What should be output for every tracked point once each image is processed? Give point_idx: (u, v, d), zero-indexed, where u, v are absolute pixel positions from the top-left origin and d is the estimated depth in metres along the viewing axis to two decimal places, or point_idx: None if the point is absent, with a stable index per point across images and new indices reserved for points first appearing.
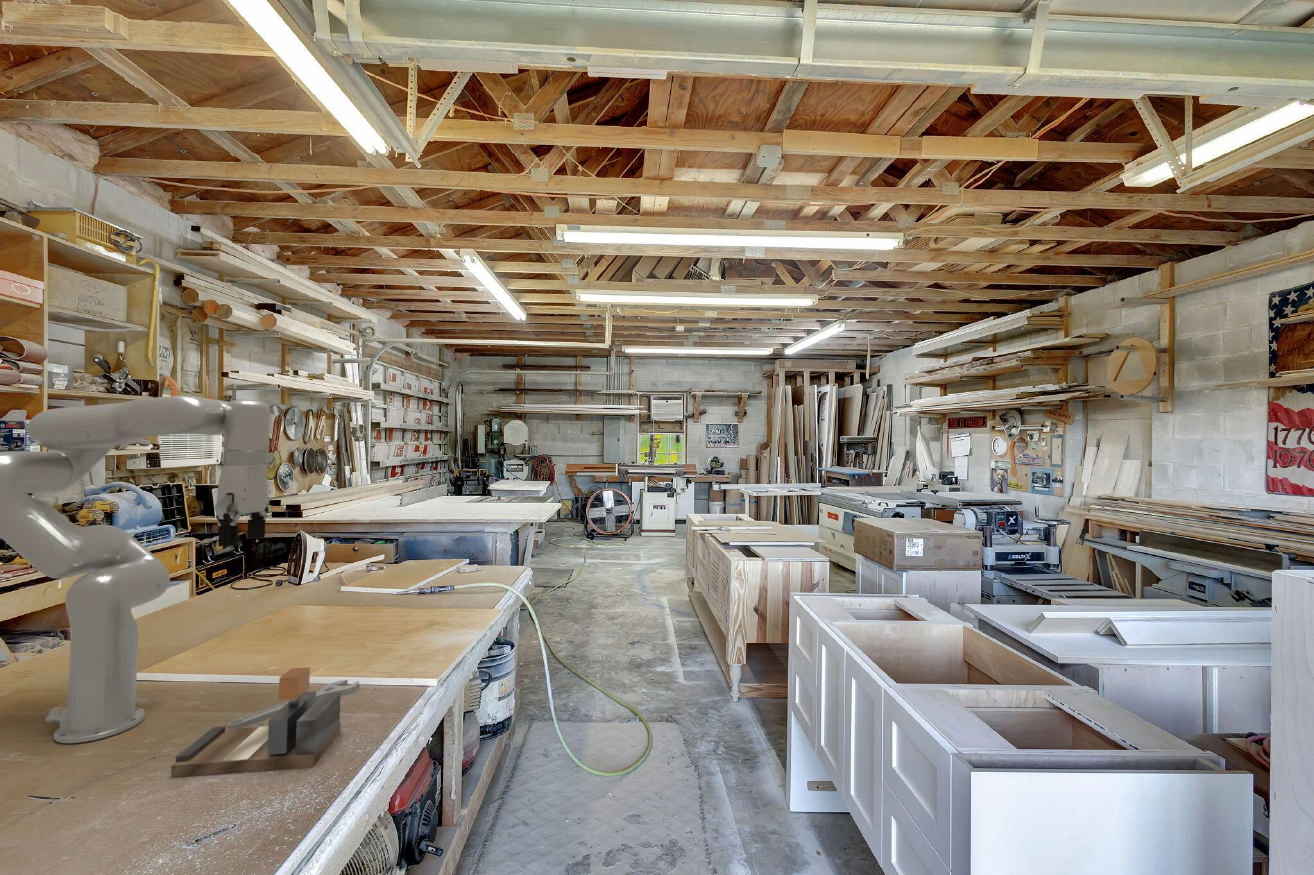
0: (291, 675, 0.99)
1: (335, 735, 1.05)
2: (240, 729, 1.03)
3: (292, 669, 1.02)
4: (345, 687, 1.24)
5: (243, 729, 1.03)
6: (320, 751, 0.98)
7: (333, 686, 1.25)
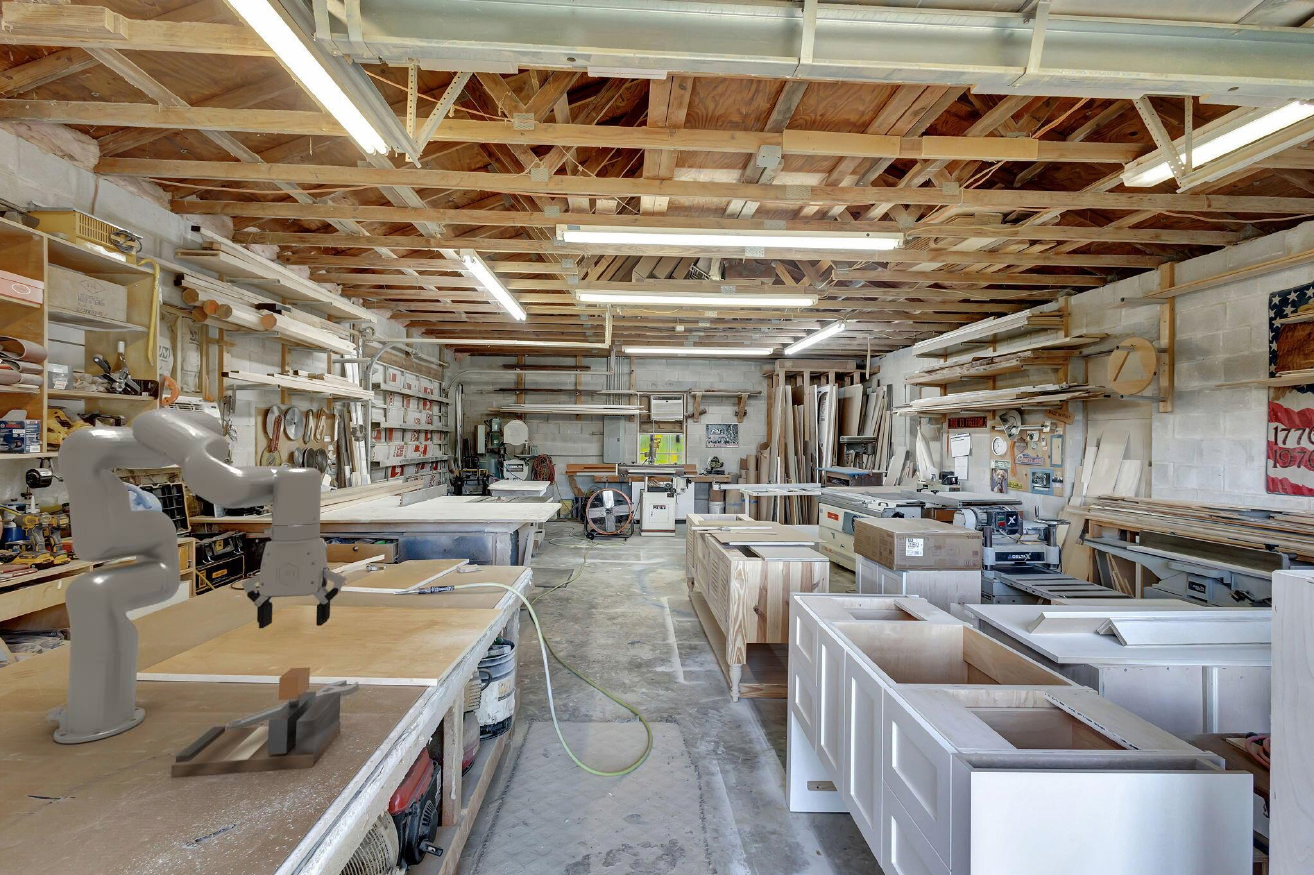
0: (291, 675, 0.99)
1: (335, 735, 1.05)
2: (240, 729, 1.03)
3: (292, 669, 1.02)
4: (344, 688, 1.24)
5: (243, 729, 1.03)
6: (320, 751, 0.98)
7: (332, 687, 1.24)
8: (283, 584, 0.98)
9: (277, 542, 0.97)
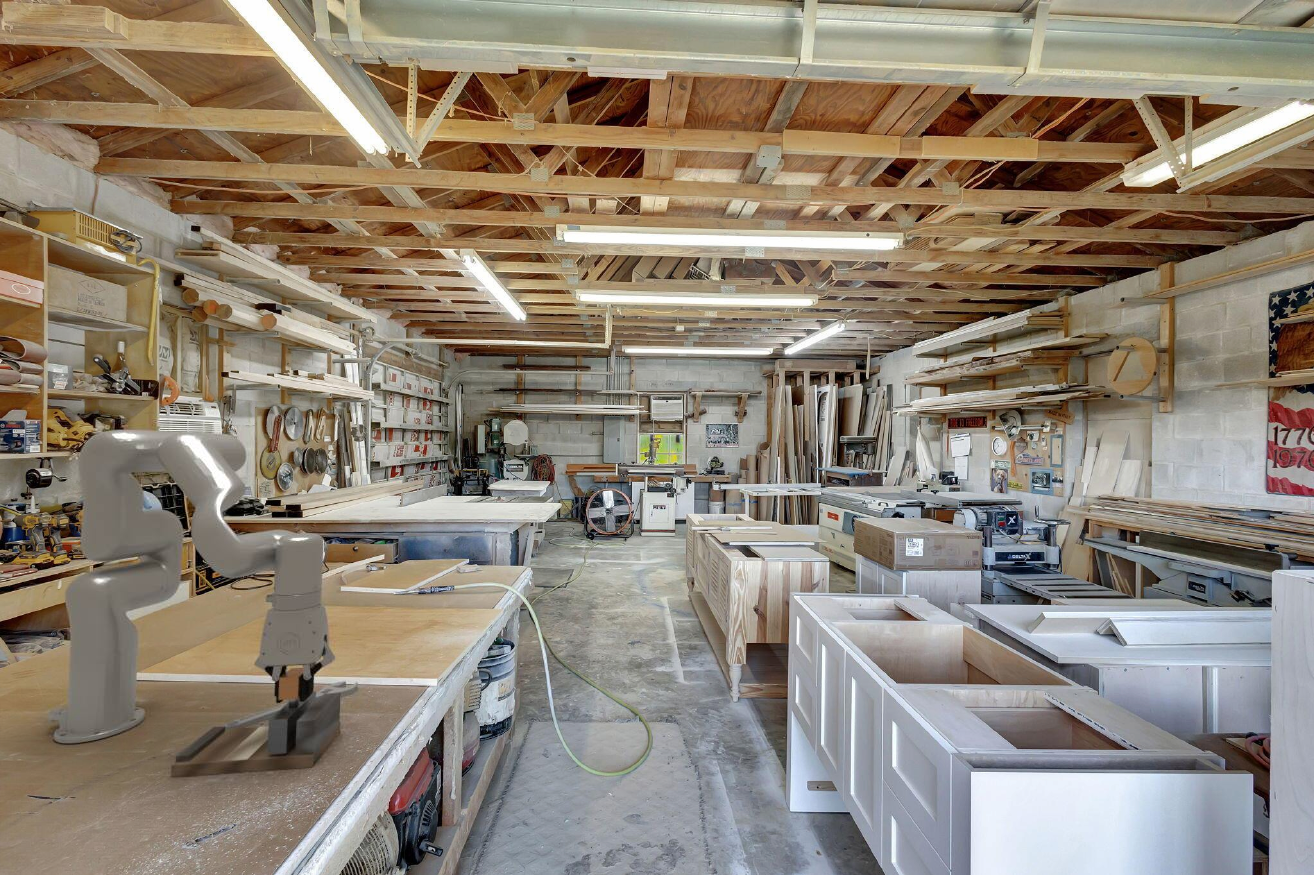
0: (291, 675, 0.99)
1: (335, 735, 1.05)
2: (240, 729, 1.03)
3: (292, 669, 1.02)
4: (343, 689, 1.23)
5: (243, 729, 1.03)
6: (320, 751, 0.98)
7: (331, 688, 1.24)
8: (284, 654, 0.97)
9: (278, 612, 0.97)
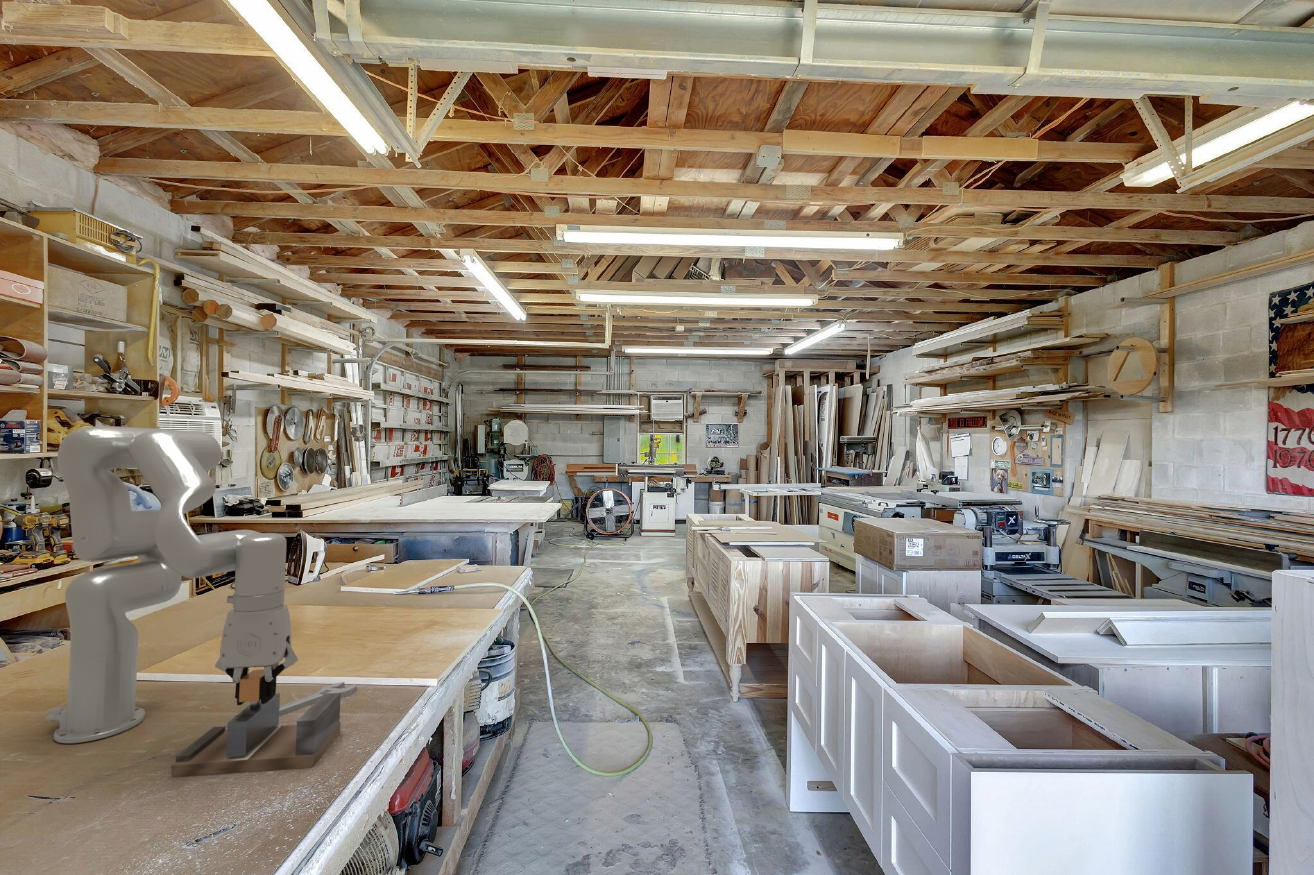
0: (252, 677, 0.98)
1: (335, 735, 1.05)
2: None
3: (254, 670, 1.01)
4: (342, 690, 1.23)
5: None
6: (320, 751, 0.98)
7: (330, 689, 1.23)
8: (245, 655, 0.96)
9: (239, 613, 0.96)
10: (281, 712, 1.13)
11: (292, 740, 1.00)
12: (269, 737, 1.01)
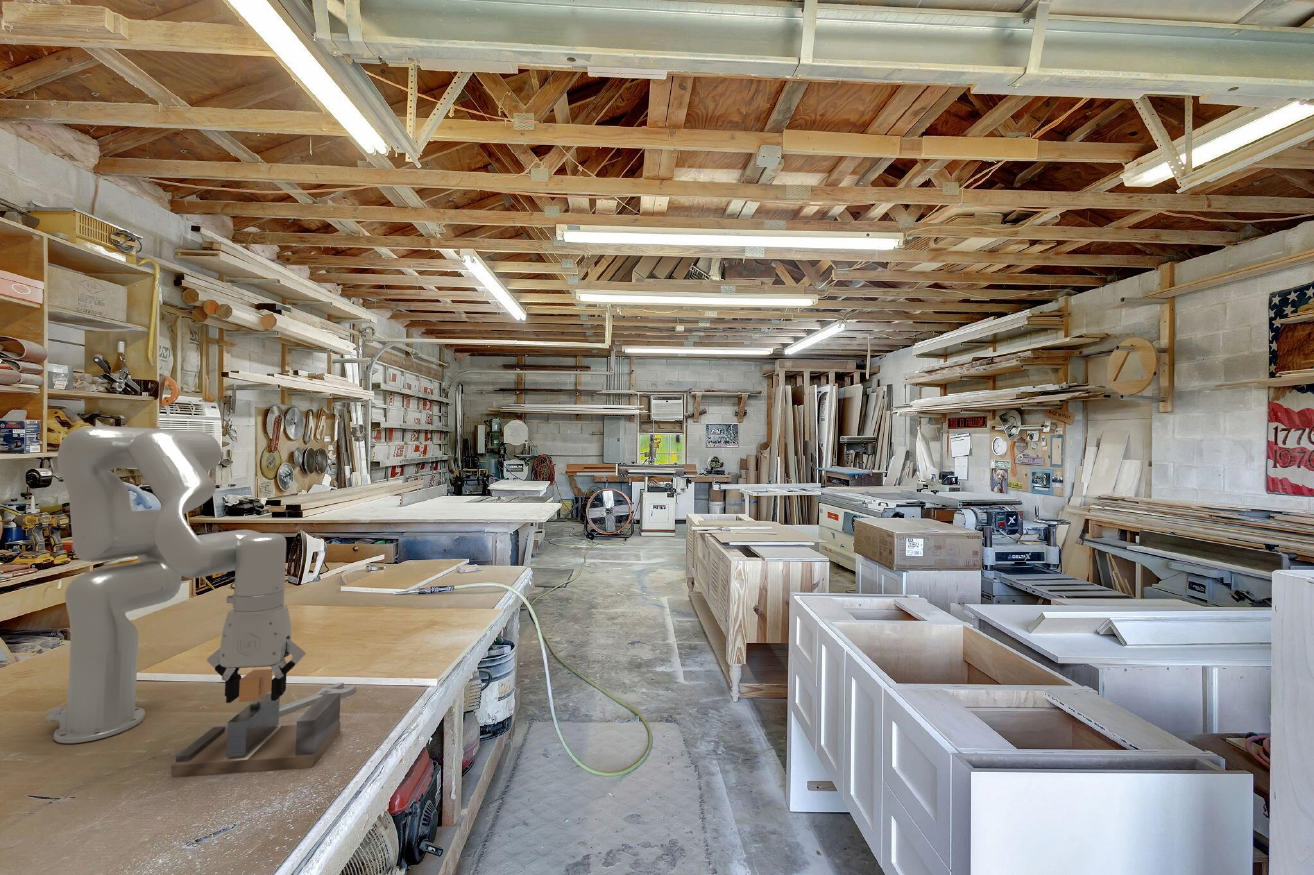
0: (252, 677, 0.98)
1: (335, 735, 1.05)
2: None
3: (254, 670, 1.01)
4: (341, 690, 1.22)
5: None
6: (320, 751, 0.98)
7: (329, 689, 1.23)
8: (245, 655, 0.96)
9: (238, 613, 0.96)
10: (280, 713, 1.13)
11: (292, 740, 1.00)
12: (269, 737, 1.01)
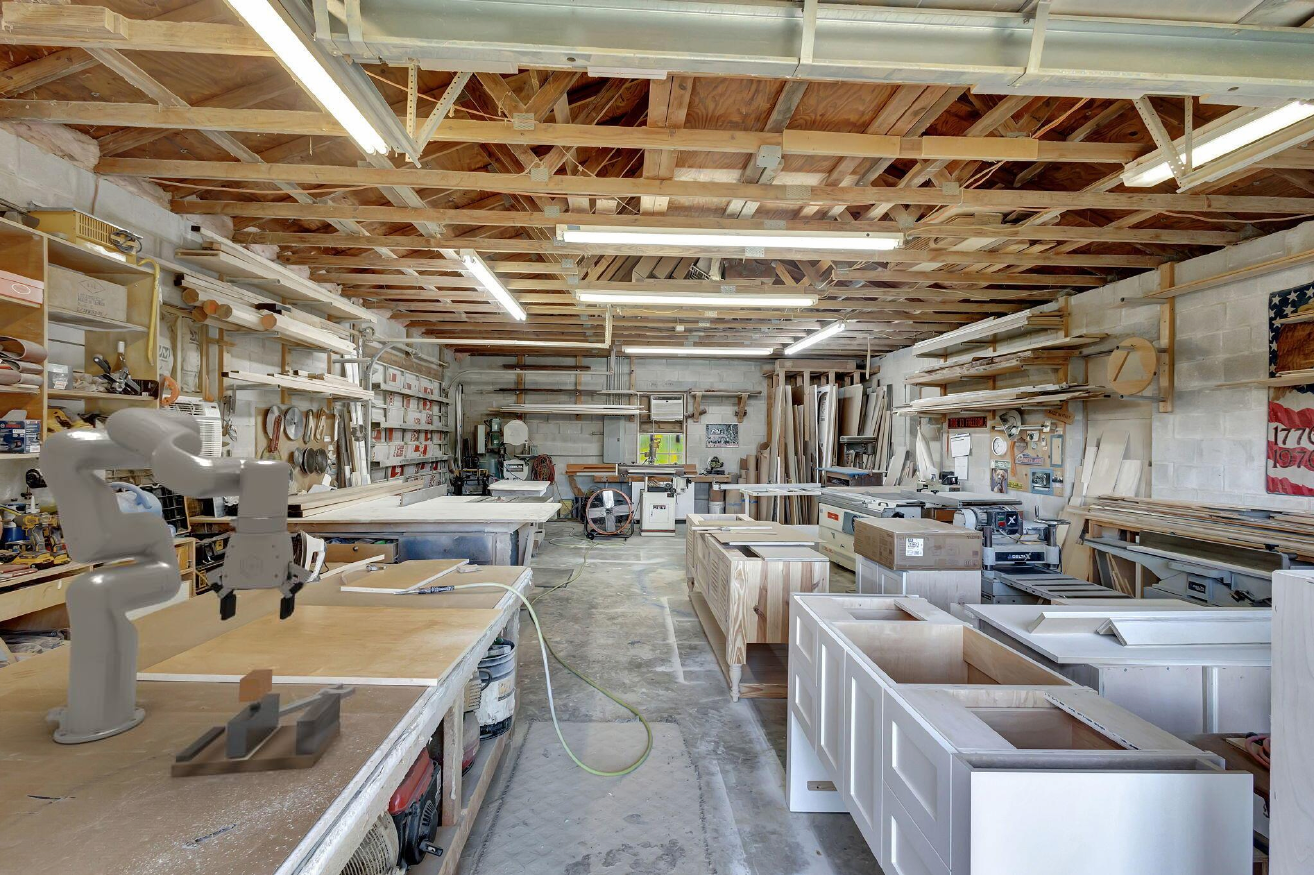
0: (252, 677, 0.98)
1: (335, 735, 1.05)
2: None
3: (254, 670, 1.01)
4: (340, 691, 1.22)
5: None
6: (320, 751, 0.98)
7: (328, 690, 1.23)
8: (247, 577, 0.97)
9: (241, 534, 0.96)
10: (279, 714, 1.12)
11: (292, 740, 1.00)
12: (269, 737, 1.01)
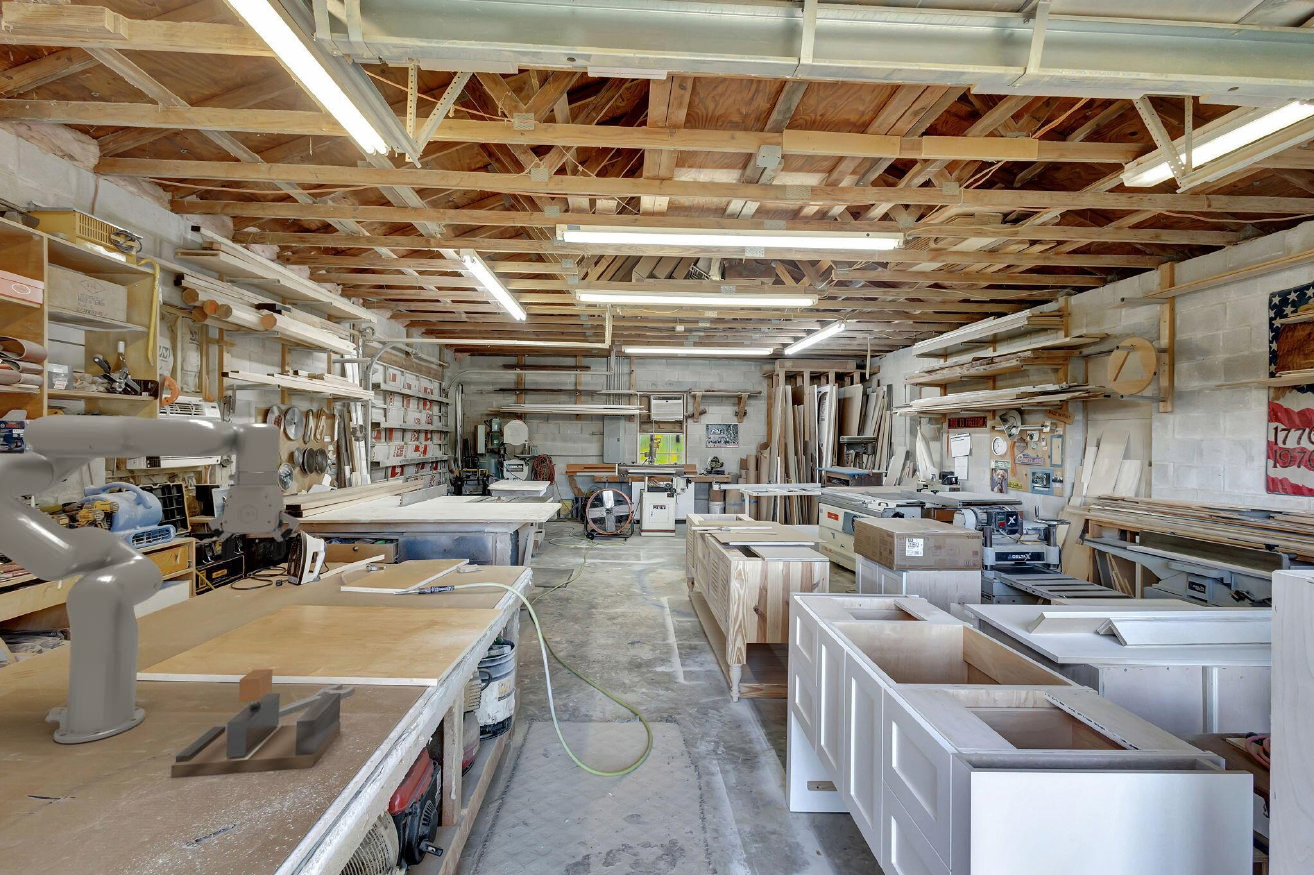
0: (252, 677, 0.98)
1: (335, 735, 1.05)
2: None
3: (254, 670, 1.01)
4: (340, 691, 1.22)
5: None
6: (320, 751, 0.98)
7: (327, 690, 1.22)
8: (244, 523, 1.13)
9: (239, 486, 1.12)
10: None
11: (292, 740, 1.00)
12: (269, 737, 1.01)
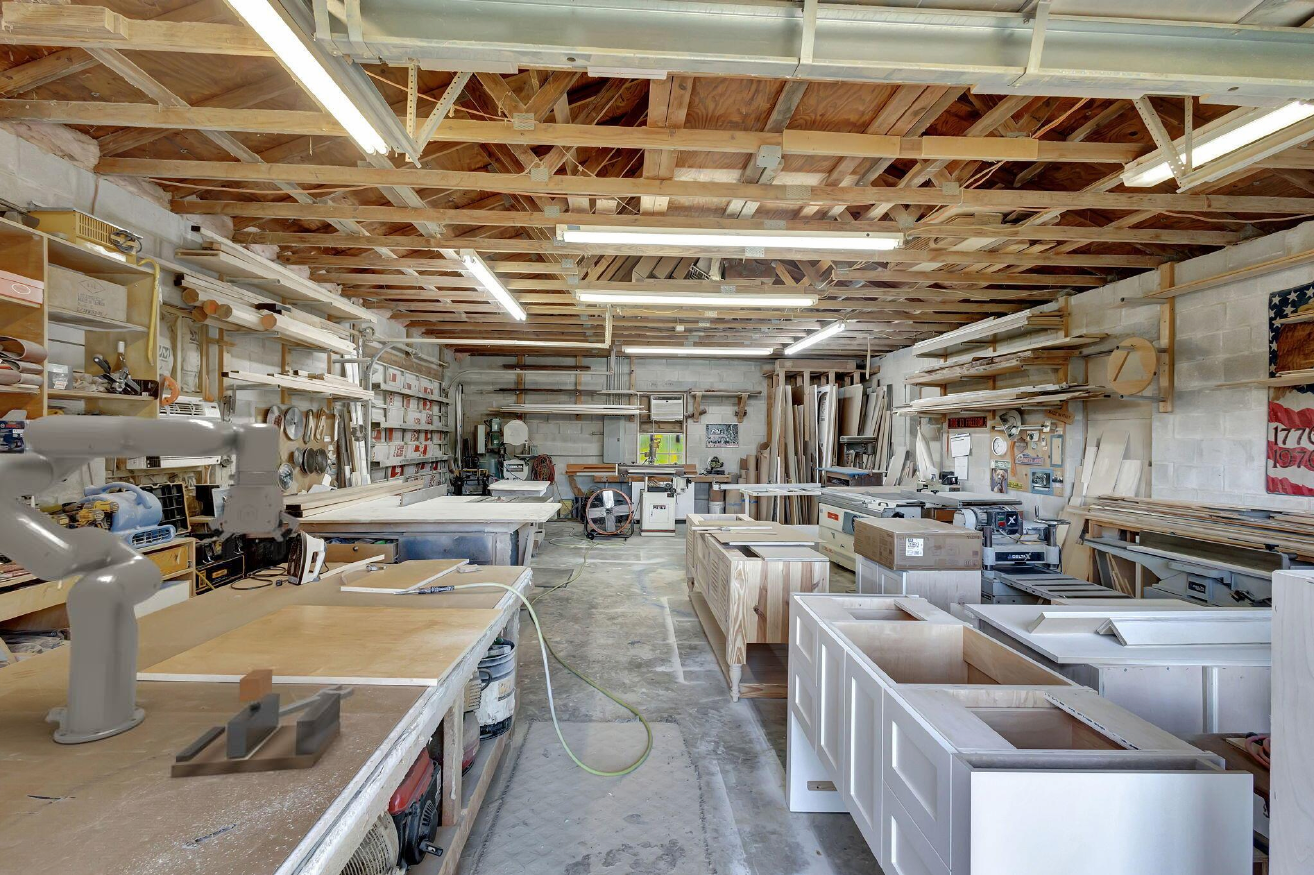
0: (252, 677, 0.98)
1: (335, 735, 1.05)
2: None
3: (254, 670, 1.01)
4: (339, 692, 1.22)
5: None
6: (320, 751, 0.98)
7: (327, 691, 1.22)
8: (244, 523, 1.13)
9: (239, 486, 1.13)
10: None
11: (292, 740, 1.00)
12: (269, 737, 1.01)
